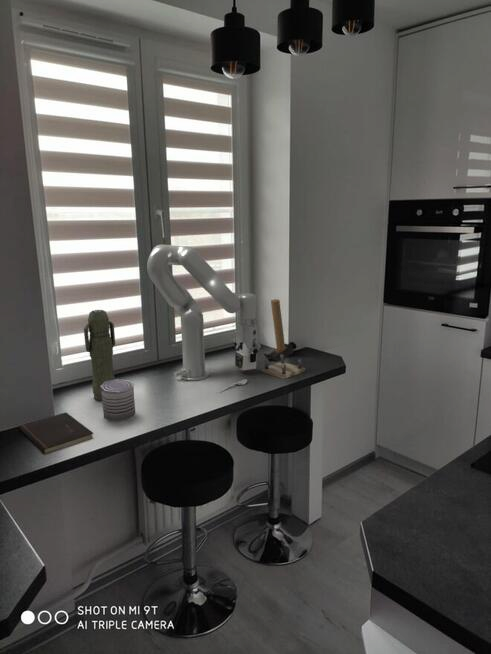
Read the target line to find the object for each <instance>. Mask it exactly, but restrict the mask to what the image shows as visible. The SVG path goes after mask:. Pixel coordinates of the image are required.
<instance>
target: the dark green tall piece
mask: <svg viewBox="0 0 491 654" xmlns="http://www.w3.org/2000/svg"><path fill="white" fill-rule="evenodd" d="M83 335H84V336H83V337H84V345H85V351H86V352H87V353H89V357H90V360H91V368H92V370H91V371H92V385H91V386H92V393H93V399H94V400H95V401H97V402H102V391H101V389H102V388H101V387H100V386H101V385H102V384H103V383H104V382H105V381H110V380H115V379H116V377H115V375H114V363H113V355H114V350H113V348H114V347H115V346H116V337H115V336H116V335H115V325H114V323H113V322H112V321H111V320H109V315H108V313H107V311H106V310H104V309H95V310H92V311H90V312H89V314H88V318H87V323H86V324H85V326H84V328H83Z"/></svg>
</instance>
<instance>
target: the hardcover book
mask: <svg viewBox="0 0 491 654" xmlns="http://www.w3.org/2000/svg"><path fill="white" fill-rule="evenodd" d="M20 431H21V432H22V433H23V434H24V435H25V436H26V437H27V438H28V439H29V440H30V441H31V443H33V444H34V445H35V446H36V447H37V448H38V449H39V450H40V451H41V452H42V453H43V454H44V455H46V453H49V452H53V451H56V450H59V449H63V448H65V447H68V446H71V445H75V444H77V443H81V442H85V441H86V440H91V439H93V435H94V432H93V431H92V430H91V429H89V428H87V427H86V425H83V424H82V423H81V421H79V420H77V419H76V418H74V417H73V416H72V415H70V414H69V413H68V412H62V413H59V414H56V415H52V416H48V417H44V418H41V419H37V420H35V421H30V422H27V423H23V424H21V425H20Z"/></svg>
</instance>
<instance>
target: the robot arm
mask: <svg viewBox="0 0 491 654" xmlns="http://www.w3.org/2000/svg"><path fill="white" fill-rule="evenodd" d="M146 264H147V265H146V270H147V273H148V274H147V275H148V276H149V278H150V281H152V283H153V285H154V286H155V287H156V289H157V290H158V291H159V293H160V294H161V295H162V297H163V298H164V299H165V301H166V303H167V304H168V305H169V306H170V307H171V308H173V309H174V310H175V311H176V313H177V314H178V315H179V317H180V330H181V331H180V332H181V345H182V346H181V347H182V367H181V369H180V370H178V371H175V372H174V373H173V375H174V377H180V379H181V380H184V381H190V382H191V381H193V382H194V381H202V380H205V379H207V378H208V377H209V375H210V373H209V372H208V370H206V364H205V361H206V360H205V337H204V332H205V331H204V324H205V323H204V314H203V311H202V308H201V306H199V304H198V303H197V301H196V300H195V299H194V298H193V296H192V295H191V293H190V292H189V291H188V289H187V288H186V287H185V286H184V285H183V284H180V283H179V281H177V279H176V278H175V276H174V275H173V274H172V272H171V271H170V270H169V265H170V266H171V265H173V266H182V267H183V268H184V269H185V270H186V271H187V272H188V273H189V274H190V275H191V277H192V278H194V279H195V281H196V282H197V283H198V284H199V285H200V286H201V287H202V288H203V289H204V291H206V292H207V293H208V294H209V295H210V296H211V297H212V299H214V300H215V301H216V303H218V305H219V306H220V307H221V308H222V309H223V310H224V311H226V312H227V313H229V314H235V313H237V312H238V323H237V328H236V335H235V337H233V338H232V341H233V345H234V347H235V350H236V351H240V350H239V347H240V342H242V343H245V344H246V346H247V348H249V349H250V351H251V354H250V362H251V363H253V362H256V363H257V359H256V354H258V352H259V351H260V349H261V348H262V347H261V346H262V345H261V344H260V343H259V331H258V325H257V319H256V318H257V295H256V294H254V293H249V292H248V293H235V292H233V291H232V290H231V289H230V288H229V287H228V285H227V284H226V283H225V282H224V281H223V280H222V278H221V277H220V276H219V274H218V273H217V271H215V270H214V268H213V267H212V266H211V265H210V264H209V263H208V262H207V261H206V260H205V258H203V256H201V255H200V253H199V252H198V251H197V250H196V249H195V248H194V247H192V246H182V245H173V244H158V245H156V246H154V247H153V248H152V250H151V252H150V254H149V257H148V259H147V262H146ZM252 346H253V347H252ZM236 351H235V352H236Z"/></svg>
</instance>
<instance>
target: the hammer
mask: <svg viewBox="0 0 491 654" xmlns="http://www.w3.org/2000/svg"><path fill="white" fill-rule="evenodd" d="M270 307H271V314H272V320H273V327H274V336H275V337H274V338H275V345H276V348H275V350H273V351H271V352H269V353H268V354H267V353H263V355H264V357H265V358H266V359H267V360H271V361H276V362H277V361H279V360H280V361H281V355H284V359H285V358H288V356H290V355H292V354H293V353H294V350H296V349H297V344H296V343H295V342H293V341H290V342H289V343H285V335H284V328H283V327H284V325H283V317H282V312H281V311H282V309H281V303H280V299H278V298H276V299H272V300H270Z"/></svg>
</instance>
